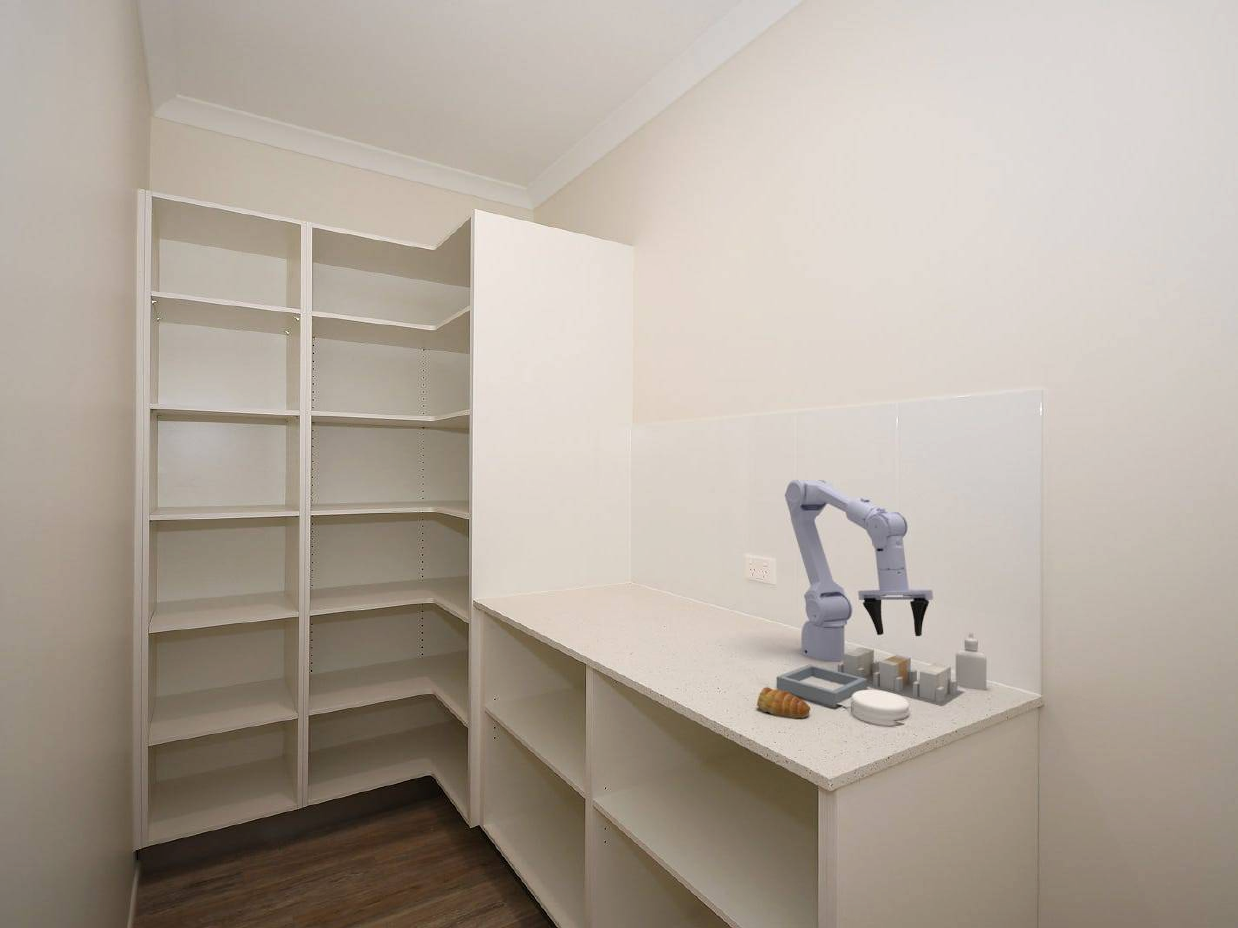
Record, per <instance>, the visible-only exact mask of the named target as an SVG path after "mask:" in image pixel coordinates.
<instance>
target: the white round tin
mask: <svg viewBox="0 0 1238 928" xmlns="http://www.w3.org/2000/svg"><path fill="white" fill-rule="evenodd" d="M850 699H851V704H850V705H851V709H850V711H851V714H852V715H853V717H855V718H856V719H858V720H860V721H862V722H865V723H868V724H872V725H875V726H884V727H899V726H904V725H905V723H903V722H899V721H900V720H904V719H906V718H907V717H909V715H910V706H911V705H910V703H909V702H908V700H907V699H906V698H904V696H901V695H897V694H893V693H890V692H886V691H882V690H878V689H866V690H861V691H857V692H855V693H854V694H853V695H852V697H850Z"/></svg>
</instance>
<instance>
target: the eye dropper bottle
mask: <svg viewBox="0 0 1238 928" xmlns="http://www.w3.org/2000/svg"><path fill="white" fill-rule="evenodd" d="M978 644H979V641H978V639H977V638H975V635H974V633H973V632H969V633H968V637H966V638H964V649H959V650H957V652H956V653H955V679H956V680H958V682H957V687H962V688H967V689H971V690H972V689H973V690H980V691H986V690H987V673H988V672H987V663H988V662H987V655H985V654H984V653H983V652H981V651H980V650H979V651H978V649H979V645H978Z"/></svg>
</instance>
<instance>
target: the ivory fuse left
mask: <svg viewBox="0 0 1238 928" xmlns="http://www.w3.org/2000/svg"><path fill="white" fill-rule="evenodd" d="M874 659H875V650H874V649H871V648H867V647H862V646H860V647H857V648H854V649H852V650H849V651H847V652H844V654H843V661H842V663H843V673H846V674H850V675H854V676H857V669H859V668H861V667H862V668H865V676H867V675H869V674H872V663H873V662H875V661H874Z"/></svg>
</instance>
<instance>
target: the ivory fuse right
mask: <svg viewBox="0 0 1238 928" xmlns="http://www.w3.org/2000/svg"><path fill="white" fill-rule="evenodd" d="M951 680H952V666H949V665H944V664H941V663H940V664H939V663H933V664H931V665H930V666H927V667H925V668H923V669H921V670H919V681H920V696H919V697H923V698H926V699H930V700H934V701H936V689H937V688H939V687H944V695H946V694H947V693H949V692H950V681H951Z"/></svg>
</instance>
